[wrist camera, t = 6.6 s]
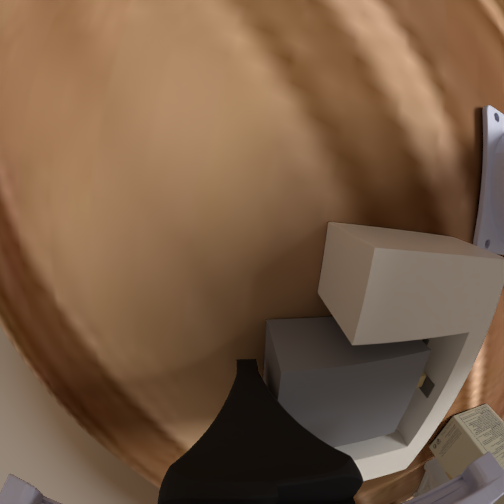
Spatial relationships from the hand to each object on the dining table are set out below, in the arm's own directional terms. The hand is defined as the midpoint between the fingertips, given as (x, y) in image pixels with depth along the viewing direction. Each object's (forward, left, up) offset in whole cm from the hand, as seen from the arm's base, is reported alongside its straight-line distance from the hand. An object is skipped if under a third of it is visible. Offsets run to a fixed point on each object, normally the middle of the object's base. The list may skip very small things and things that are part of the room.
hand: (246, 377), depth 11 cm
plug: (-4, 0, -1) cm, 4 cm away
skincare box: (-20, +10, -1) cm, 23 cm away
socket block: (-6, 0, -1) cm, 6 cm away
